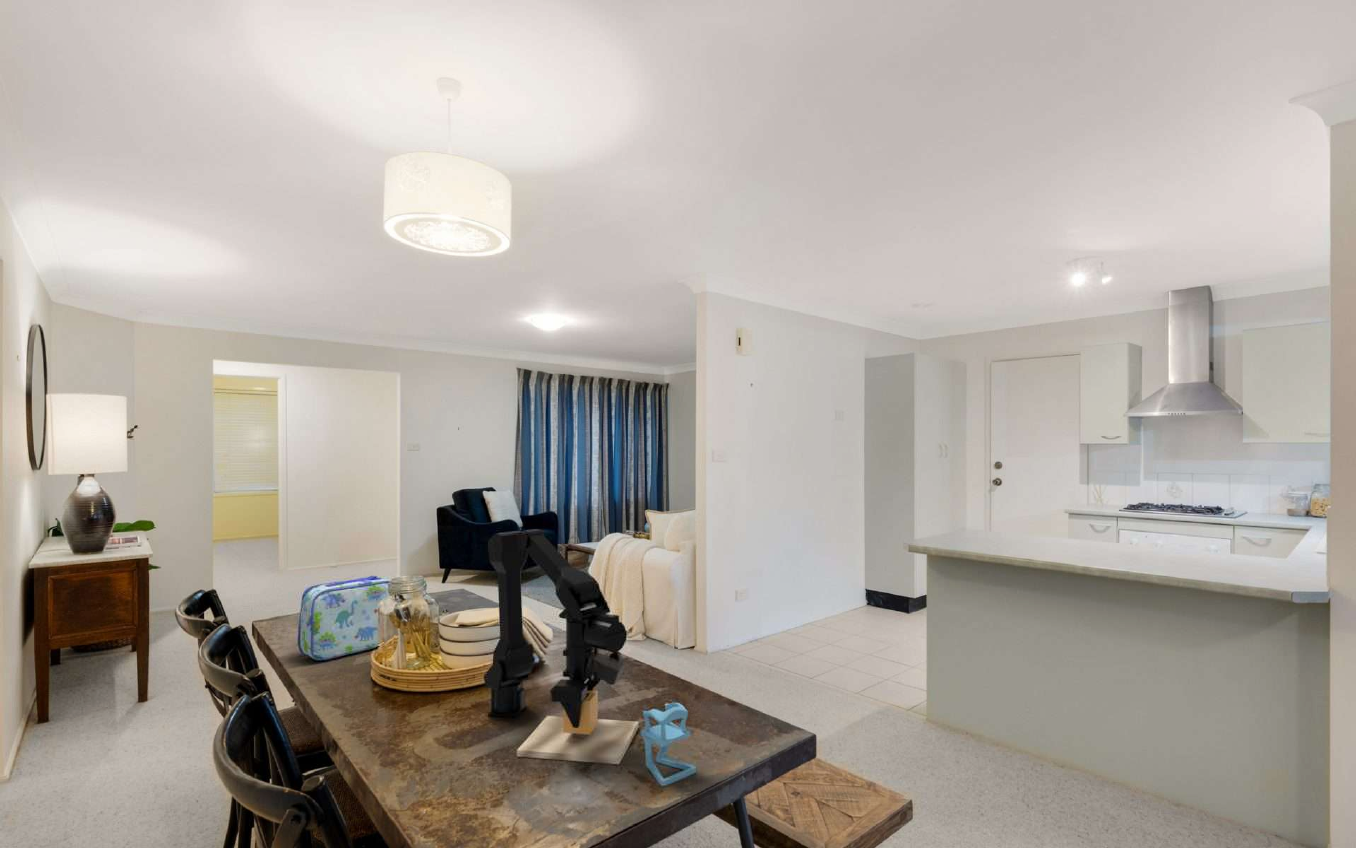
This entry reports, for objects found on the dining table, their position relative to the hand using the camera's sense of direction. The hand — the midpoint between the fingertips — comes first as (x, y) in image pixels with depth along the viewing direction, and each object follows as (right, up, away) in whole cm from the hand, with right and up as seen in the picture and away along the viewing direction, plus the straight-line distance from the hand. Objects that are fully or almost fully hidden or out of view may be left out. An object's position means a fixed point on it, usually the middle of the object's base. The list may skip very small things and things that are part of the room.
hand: (580, 721), depth 130 cm
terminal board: (0, -4, 0) cm, 4 cm away
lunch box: (-76, -7, +59) cm, 97 cm away
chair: (+17, -4, -12) cm, 21 cm away
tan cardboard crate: (0, -1, 0) cm, 1 cm away
